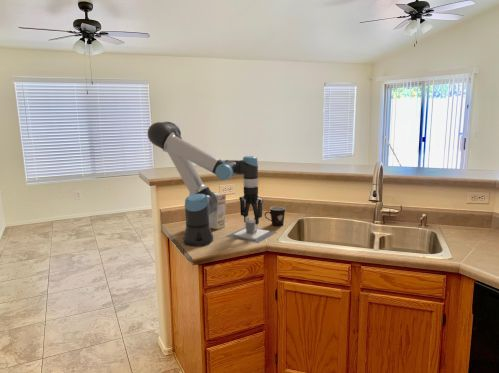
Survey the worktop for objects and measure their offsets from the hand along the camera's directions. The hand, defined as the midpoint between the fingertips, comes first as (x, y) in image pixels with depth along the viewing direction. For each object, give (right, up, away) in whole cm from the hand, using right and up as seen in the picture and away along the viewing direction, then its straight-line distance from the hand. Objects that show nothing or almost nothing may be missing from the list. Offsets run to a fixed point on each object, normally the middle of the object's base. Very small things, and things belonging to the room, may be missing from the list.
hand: (251, 229), depth 194 cm
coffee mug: (+14, 0, +18) cm, 22 cm away
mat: (0, -3, +1) cm, 3 cm away
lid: (0, -3, +1) cm, 3 cm away
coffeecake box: (-23, 0, +16) cm, 28 cm away
